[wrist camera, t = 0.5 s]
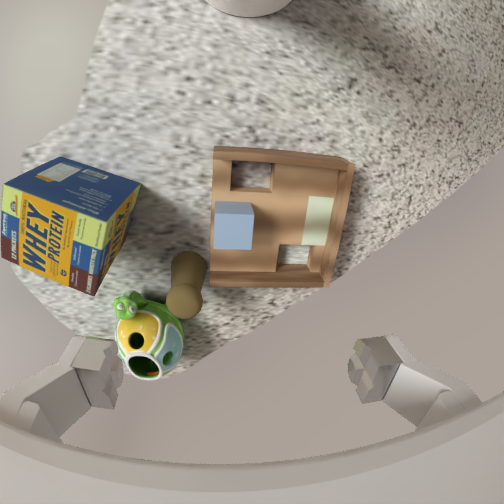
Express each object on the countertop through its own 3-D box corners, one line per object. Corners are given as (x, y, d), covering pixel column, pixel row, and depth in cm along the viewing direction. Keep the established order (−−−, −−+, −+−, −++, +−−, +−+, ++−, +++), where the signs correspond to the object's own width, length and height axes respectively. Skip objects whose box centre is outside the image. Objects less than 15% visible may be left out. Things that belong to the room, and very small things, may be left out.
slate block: (215, 200, 41) (214, 213, 37) (250, 202, 42) (254, 214, 37) (213, 233, 43) (213, 248, 39) (247, 234, 44) (251, 249, 40)
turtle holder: (165, 266, 48) (154, 311, 38) (192, 341, 57) (190, 388, 46) (102, 277, 48) (80, 320, 37) (137, 347, 57) (127, 392, 46)
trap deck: (214, 145, 40) (213, 151, 35) (340, 157, 42) (355, 164, 37) (210, 267, 49) (209, 286, 44) (319, 269, 52) (328, 287, 47)
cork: (175, 247, 47) (166, 286, 37) (211, 256, 48) (210, 297, 39) (167, 277, 49) (158, 319, 40) (201, 286, 51) (199, 329, 41)
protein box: (126, 241, 45) (95, 298, 32) (49, 213, 41) (-1, 257, 27) (143, 182, 41) (108, 222, 28) (58, 154, 37) (0, 182, 23)
